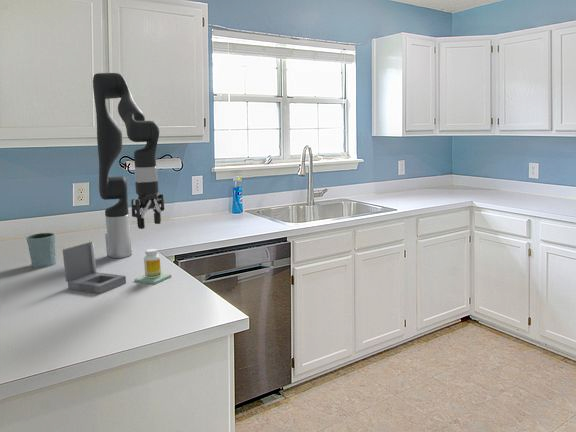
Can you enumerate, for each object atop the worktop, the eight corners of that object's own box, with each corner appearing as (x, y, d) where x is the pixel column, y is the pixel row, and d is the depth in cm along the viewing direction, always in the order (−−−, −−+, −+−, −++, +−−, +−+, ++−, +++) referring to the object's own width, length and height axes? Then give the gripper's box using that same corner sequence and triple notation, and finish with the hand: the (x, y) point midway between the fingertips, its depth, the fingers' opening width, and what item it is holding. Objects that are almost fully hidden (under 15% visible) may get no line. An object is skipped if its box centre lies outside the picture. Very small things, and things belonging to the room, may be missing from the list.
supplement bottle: (142, 276, 174) (140, 250, 173) (155, 273, 178) (153, 247, 177) (150, 279, 171) (148, 252, 169) (164, 276, 175) (162, 249, 173)
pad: (134, 281, 172) (134, 279, 172) (151, 274, 180) (151, 272, 180) (155, 284, 168) (155, 281, 168) (171, 276, 177) (171, 274, 176)
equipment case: (66, 288, 166) (62, 249, 163) (93, 278, 176) (90, 241, 174) (100, 293, 160) (96, 253, 157) (126, 282, 170) (122, 244, 168)
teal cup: (59, 260, 202) (56, 231, 200) (56, 266, 193) (53, 236, 191) (31, 263, 199) (28, 234, 197) (27, 269, 190) (23, 239, 188)
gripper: (151, 177, 177) (154, 221, 180) (123, 181, 164) (127, 229, 168) (168, 178, 174) (171, 223, 177) (141, 182, 161) (144, 231, 165)
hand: (149, 226), depth 172 cm, fingers open, 8 cm apart
